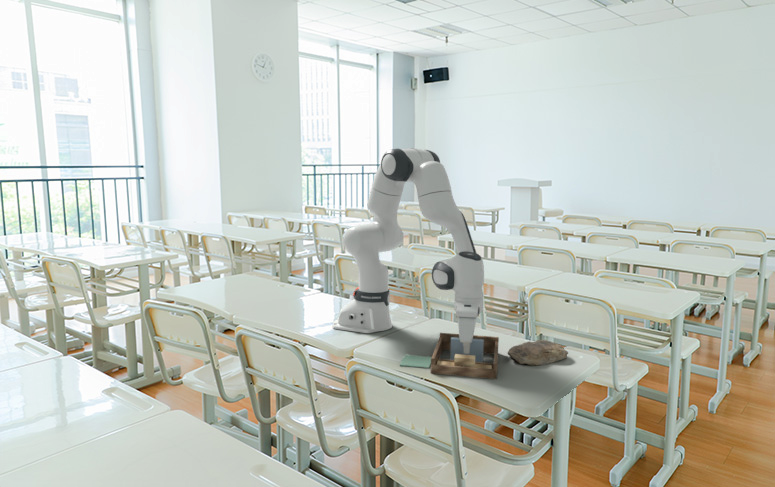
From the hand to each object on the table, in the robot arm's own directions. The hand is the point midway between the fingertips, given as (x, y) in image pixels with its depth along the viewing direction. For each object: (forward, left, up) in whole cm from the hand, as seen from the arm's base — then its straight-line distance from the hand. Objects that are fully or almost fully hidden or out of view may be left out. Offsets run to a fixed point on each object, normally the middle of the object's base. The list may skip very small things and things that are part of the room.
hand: (467, 347), depth 170 cm
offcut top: (0, -9, -2) cm, 10 cm away
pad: (-15, -5, -4) cm, 17 cm away
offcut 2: (+5, -9, -5) cm, 11 cm away
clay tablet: (+20, +8, -5) cm, 23 cm away
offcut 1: (-5, -9, -5) cm, 12 cm away
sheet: (0, 0, -4) cm, 4 cm away
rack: (0, -2, -4) cm, 5 cm away
